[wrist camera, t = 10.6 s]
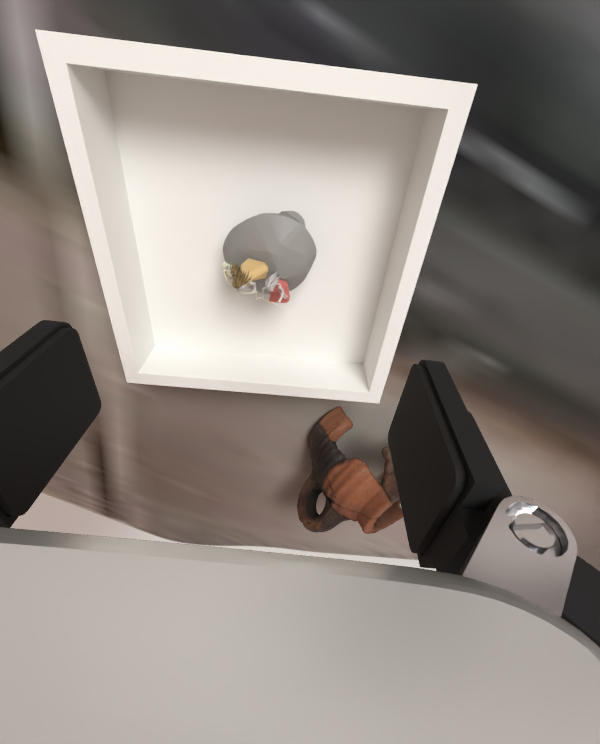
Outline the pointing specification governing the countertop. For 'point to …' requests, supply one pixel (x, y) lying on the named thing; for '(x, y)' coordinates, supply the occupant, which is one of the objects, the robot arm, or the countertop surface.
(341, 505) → the brown two-tone ridged part
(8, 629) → the robot arm
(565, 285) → the countertop surface
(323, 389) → the bin
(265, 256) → the figurine
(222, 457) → the countertop surface
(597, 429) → the countertop surface
